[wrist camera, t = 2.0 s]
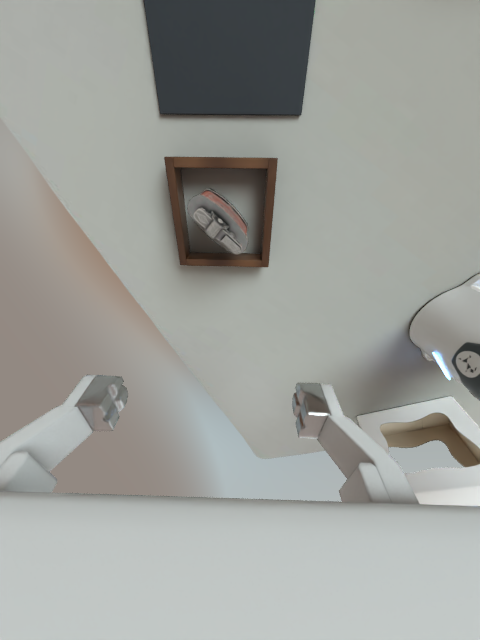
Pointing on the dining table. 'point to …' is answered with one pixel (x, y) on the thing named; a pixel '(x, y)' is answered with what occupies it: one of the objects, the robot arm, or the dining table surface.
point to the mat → (230, 55)
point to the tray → (180, 214)
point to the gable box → (427, 425)
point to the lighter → (219, 220)
